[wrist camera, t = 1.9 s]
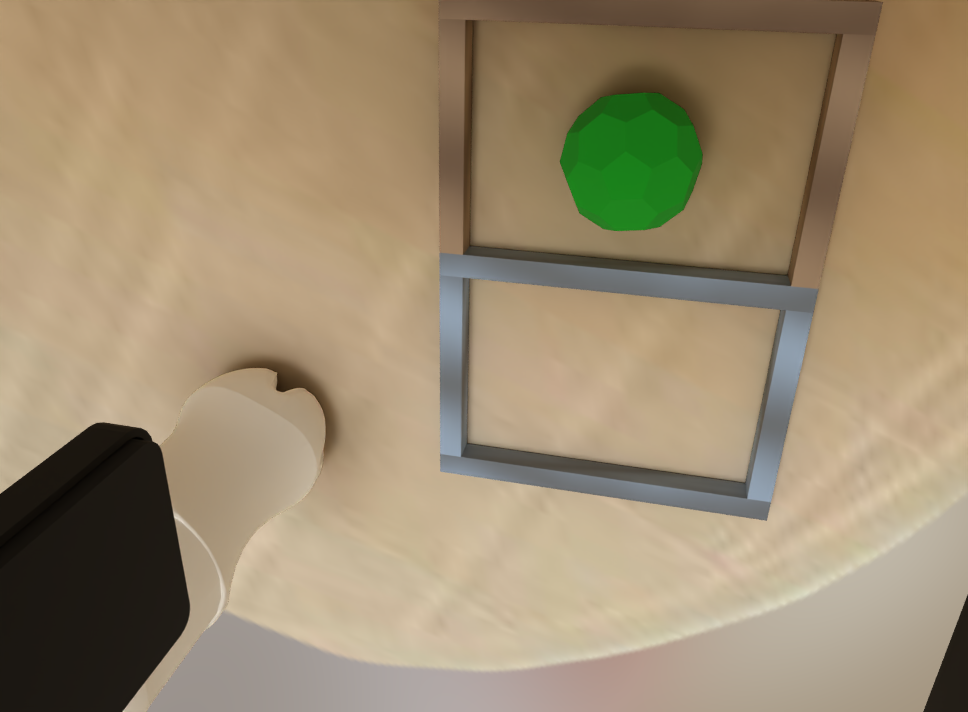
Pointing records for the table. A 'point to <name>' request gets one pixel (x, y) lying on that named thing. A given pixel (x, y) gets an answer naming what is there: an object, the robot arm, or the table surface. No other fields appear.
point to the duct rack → (650, 3)
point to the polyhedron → (631, 161)
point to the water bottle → (231, 487)
